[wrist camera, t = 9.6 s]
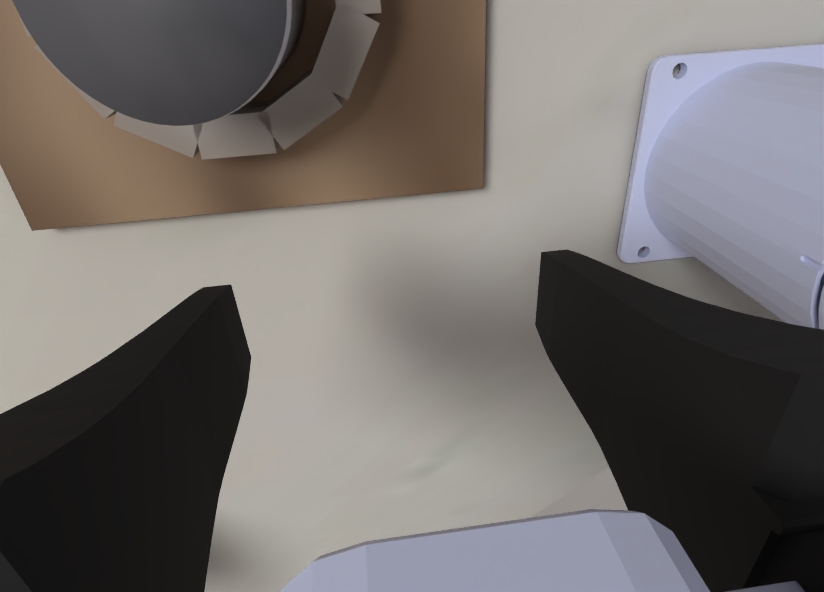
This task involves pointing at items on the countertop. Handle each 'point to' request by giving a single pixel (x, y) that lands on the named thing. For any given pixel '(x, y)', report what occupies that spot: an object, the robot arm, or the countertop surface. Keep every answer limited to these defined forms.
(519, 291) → the countertop surface
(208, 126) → the mount board
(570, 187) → the countertop surface
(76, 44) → the lens
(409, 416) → the countertop surface
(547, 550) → the robot arm
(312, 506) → the countertop surface
